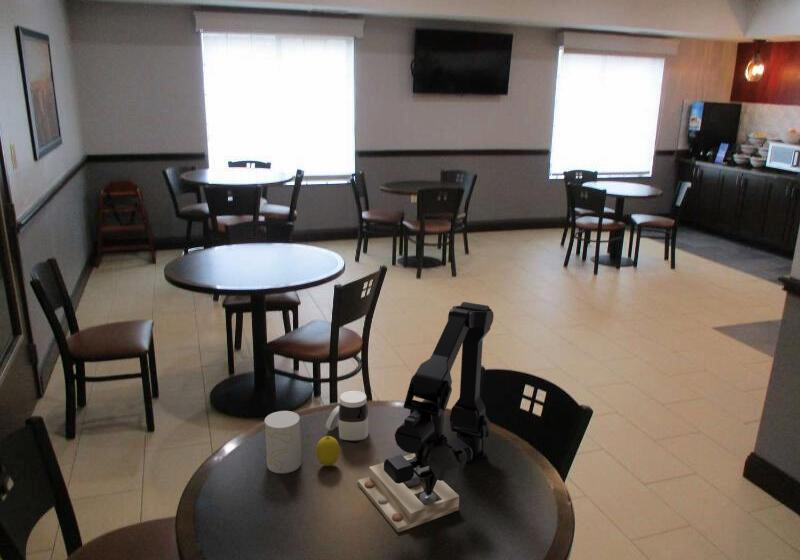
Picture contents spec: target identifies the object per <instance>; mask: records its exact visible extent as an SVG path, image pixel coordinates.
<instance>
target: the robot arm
mask: <svg viewBox="0 0 800 560" xmlns="http://www.w3.org/2000/svg"><path fill="white" fill-rule="evenodd" d="M493 322H494V311H493V310H492V308H491V307H490V306H489V305H488V304H487V305H486V304H479V303H474V302H473V303H472V302H467V301H463V302H461V303H460V305H455V306H454V305H453V306H452V308H451V309H449V312H448V315H447V322H446V324H445V326H444V328H443V331H442V332H441V334H440V336H439V339H438V341H437V343H436V345H435V347H434V350H433V352H432V354H431V356H430V357H429V359H426V360H425V361H424V362H422V363H421V364H420V365H419V366H418V368H417V370H416V372H415V373H413V375H412V376H411V379H410V383H409V384H408V385H409V386H408V389H407V391H406V392H407V393H406V396H405V399H404V402H403V409H406V410H409V415H408V416H406V417H405V418H404V420H403V421H404V422H403V423H401V424H400V425H399V426H398V427H397V429H396V430H395V433H394V440H395V442H396V445H397V446H398V448H399V449H401V450H402V451H403V452H406V453H408V454H413V453H414V454H415V457H413V458H410V459H405V458H404V456H403V454H398V455H394V456H392V457H387V458H386V459H385V460H383V463H384V471H385V472H386V473H387V474H388V475H389V476H390V478H391V479H392V480H393V481H394V482H395V483H398V484H400V483H403V482H406V481H409V480H411V479H412V477H413V476H414V473H415V474H416V475H417V476H418V478H419V480H420V483H421V485H422V487H423V490H424V492H425V494H426V495H427V496H428V495H431V493H432V491H433V489H434V486H435V484H436V482H437V480H439V481H445V480H447V479H450V478H454V477H456V476H457V474H458V472H459V470H461V469H462V470H463V469H464V468H465V465H466V464H467V463H472V462H474V461H477V460H480V459H483V458H486V457H488V454H487V452H486V451H484V447H485V446H484V444H485V443H484V442H485V439H486V438H489V437H490V431H491V422H490V420H489V418H488V417H487V416H486V405H485V403H484V402H483V400H482V398H481V396H480V393H481V392H480V391H481V389H480V388H481V377H482V376H481V375H482V359H483V357H482V356H483V341H484V339H485V337H486V335H487V334H488V333H489V331H491V327H492V325H493ZM460 350H461V365H460V366H461V367H460V381H459V382H460V383H459V398H458V399H457V401H456V402H455V404H454V405H453V406H452V407H451V409H450V415H449V425H450V431H451V432H452V433H456V437H454V438H451V439H448V437H447V435H445V434H444V425H445V424H444V423H445V421H444V420H445V411H446V410H447V406H448V403H449V401H450V398H451V394H452V392H453V387H452V383H453V379H452V374H451V371H452V368H453V366H454V363H455V362H456V361H455V360H456V359H457V356H458V355H459V352H460ZM414 397H415V398H418V399H422V401H419V400H415V399H414Z"/></svg>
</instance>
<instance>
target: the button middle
mask: <svg viewBox="0 0 800 560" xmlns="http://www.w3.org/2000/svg"><path fill="white" fill-rule="evenodd" d="M404 484H405V485H406V486H407V487H408V488H414V487H417V486H420V485H421V483H420V480H419V478H418V476H417V475H416V474H415V473H414V476H413V477H412V479H411V480H409V481H406V482H404Z"/></svg>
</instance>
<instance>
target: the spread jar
mask: <svg viewBox="0 0 800 560" xmlns="http://www.w3.org/2000/svg"><path fill="white" fill-rule="evenodd" d="M339 402H340V403H339V405H337V406H336V407H335V408H334V409H333V410H332V411H331V413H330V414H329V416H328V418H327V420H326V423H325V428H326V430H328V431H331V432H332V431H334V430H335V429H336V428H337V427H338V436H339V440H340V441H342V442H344V443H346V444H351V445H352V444H353V445H354V444H360V443H362V442H365V441H366V440H367V439H368V435H369V405H368V402H367V395H366V393H364V392H363V391H359V390H349V391H345V392H342V393H341V394H340V395H339Z"/></svg>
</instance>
